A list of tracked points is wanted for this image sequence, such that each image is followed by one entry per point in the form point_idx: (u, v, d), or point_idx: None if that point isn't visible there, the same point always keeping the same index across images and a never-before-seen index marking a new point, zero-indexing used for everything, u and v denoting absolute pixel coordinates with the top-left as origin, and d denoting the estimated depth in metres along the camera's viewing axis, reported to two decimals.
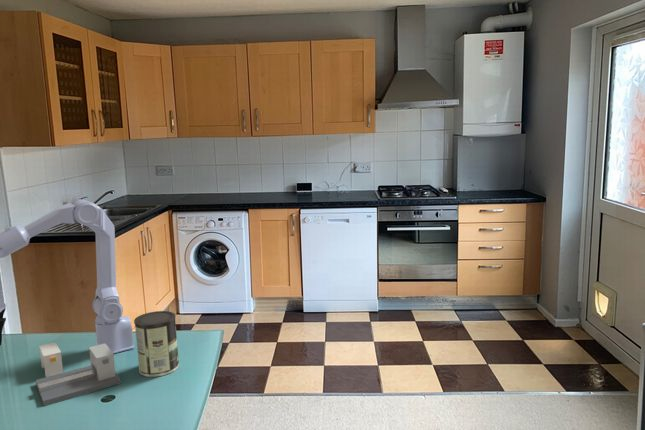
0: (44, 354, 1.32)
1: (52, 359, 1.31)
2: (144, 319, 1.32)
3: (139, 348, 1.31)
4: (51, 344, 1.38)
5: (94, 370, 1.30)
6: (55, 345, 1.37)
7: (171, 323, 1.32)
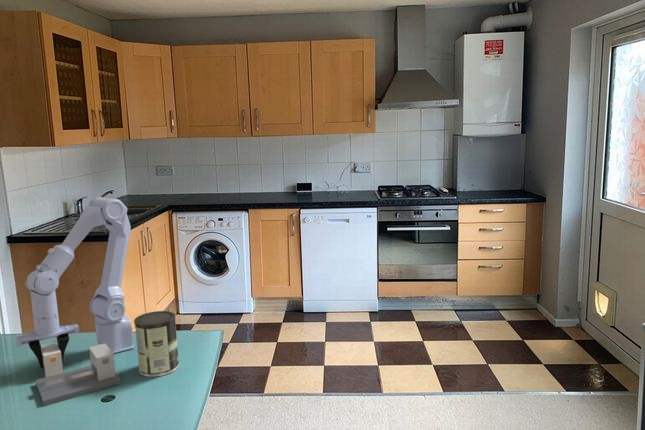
0: (44, 354, 1.32)
1: (52, 359, 1.31)
2: (144, 319, 1.32)
3: (139, 348, 1.31)
4: (51, 344, 1.38)
5: (94, 370, 1.30)
6: (55, 345, 1.37)
7: (171, 323, 1.32)
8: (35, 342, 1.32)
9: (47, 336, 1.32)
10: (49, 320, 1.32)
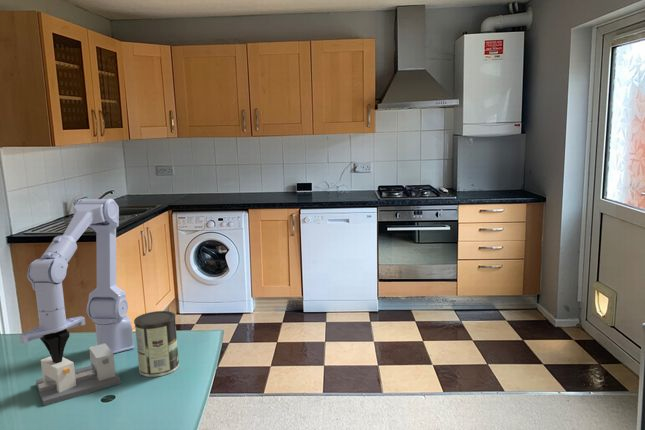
0: (56, 367, 1.21)
1: (66, 371, 1.22)
2: (144, 319, 1.32)
3: (139, 348, 1.31)
4: None
5: (94, 370, 1.30)
6: None
7: (171, 323, 1.32)
8: (50, 335, 1.22)
9: (57, 329, 1.21)
10: (58, 312, 1.21)
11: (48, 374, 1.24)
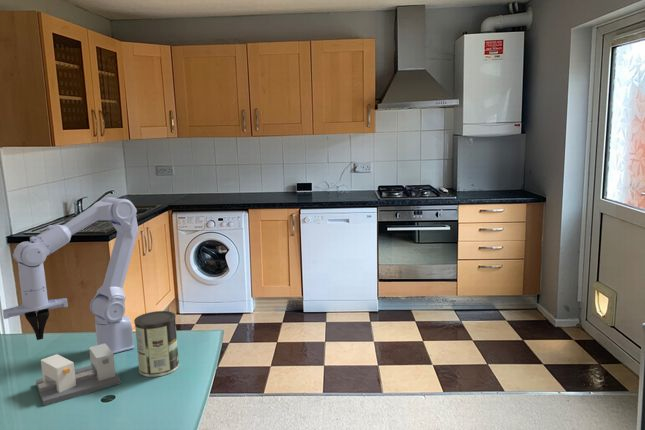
0: (56, 367, 1.21)
1: (66, 371, 1.22)
2: (145, 319, 1.32)
3: (139, 348, 1.31)
4: (54, 356, 1.27)
5: (94, 370, 1.30)
6: (60, 357, 1.27)
7: (171, 323, 1.32)
8: (31, 313, 1.31)
9: (35, 309, 1.29)
10: (37, 292, 1.29)
11: (48, 374, 1.24)
